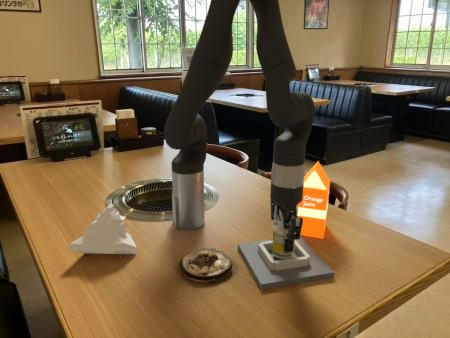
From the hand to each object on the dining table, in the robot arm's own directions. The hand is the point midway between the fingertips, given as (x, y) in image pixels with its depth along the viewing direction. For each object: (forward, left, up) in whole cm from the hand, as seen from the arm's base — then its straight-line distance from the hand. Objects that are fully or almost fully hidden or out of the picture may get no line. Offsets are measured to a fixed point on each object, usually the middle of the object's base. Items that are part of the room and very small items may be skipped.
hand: (283, 245), depth 91 cm
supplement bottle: (0, 0, -3) cm, 3 cm away
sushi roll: (-19, +2, -6) cm, 20 cm away
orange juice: (+15, +14, -5) cm, 21 cm away
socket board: (0, 0, -5) cm, 5 cm away
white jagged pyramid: (-42, +16, -5) cm, 45 cm away
